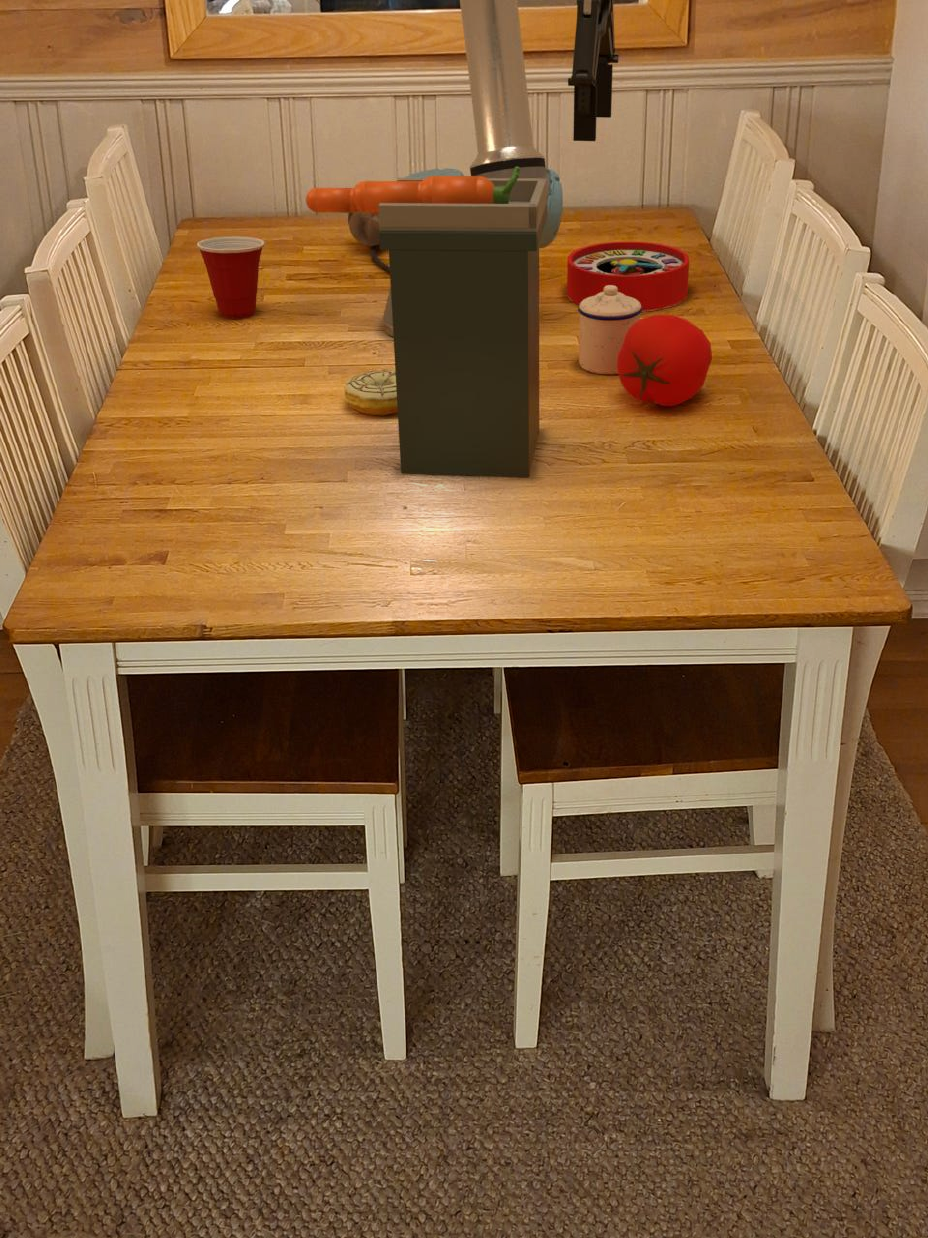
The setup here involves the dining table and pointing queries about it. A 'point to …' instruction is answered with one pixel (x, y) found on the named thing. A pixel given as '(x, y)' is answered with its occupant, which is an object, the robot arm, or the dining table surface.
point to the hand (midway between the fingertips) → (592, 128)
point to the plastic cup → (233, 273)
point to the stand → (467, 330)
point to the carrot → (410, 193)
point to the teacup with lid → (605, 328)
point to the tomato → (664, 360)
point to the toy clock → (630, 272)
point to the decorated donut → (373, 392)
